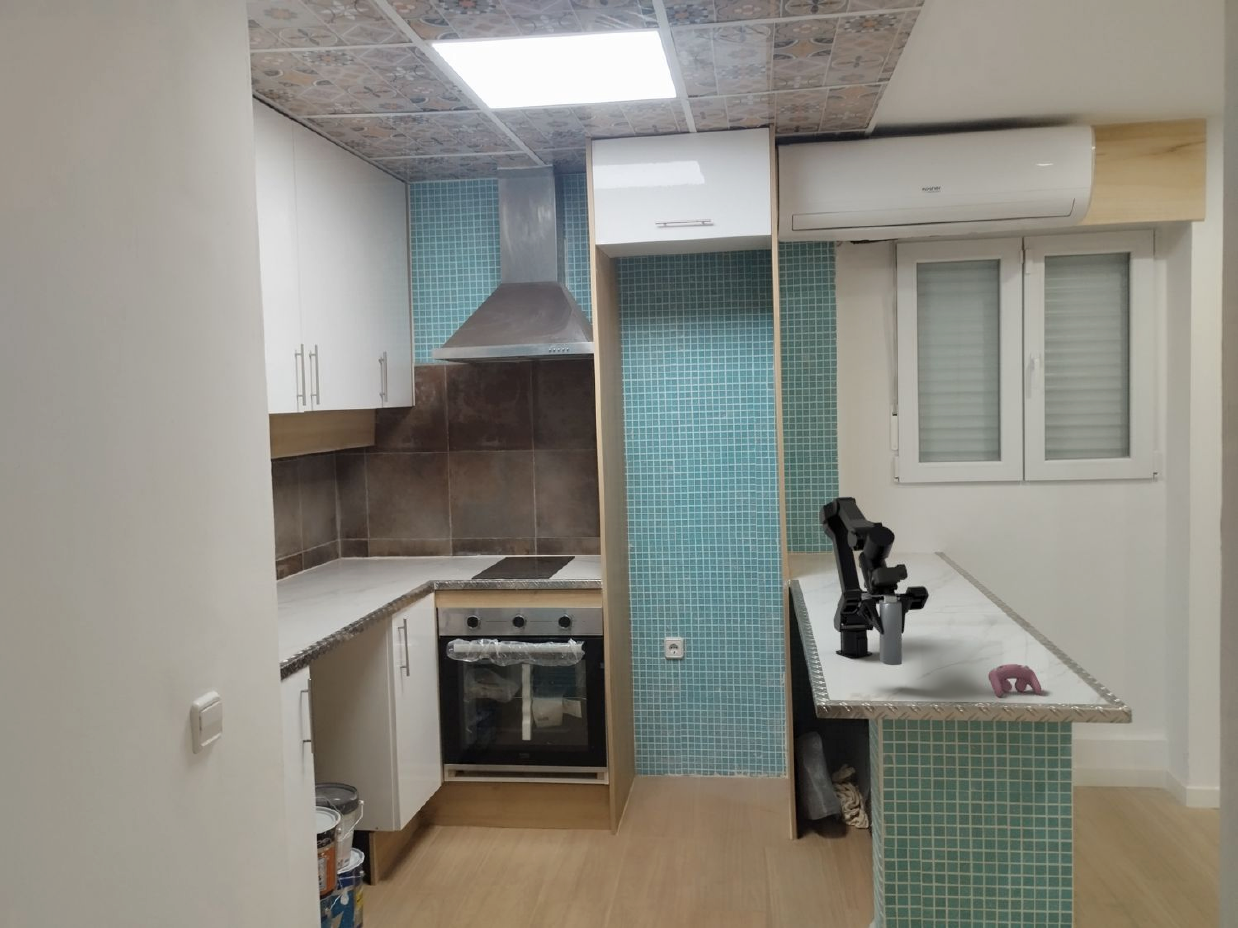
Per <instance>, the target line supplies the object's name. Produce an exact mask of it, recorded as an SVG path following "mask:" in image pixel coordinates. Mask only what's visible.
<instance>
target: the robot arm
mask: <svg viewBox="0 0 1238 928" xmlns="http://www.w3.org/2000/svg"><path fill="white" fill-rule="evenodd" d="M818 514H819V515H818V516H819V518H818V519H819V523H820V525H821V526H822V529H823V533H824V534H825V535H826V536H827V538H829V539H830V540H831V542H832V547H833V552H834V558H835V563H836V569H837V575H838V579H839V586H840V590H841V591H840V592H841V596H840V598H839V600H838V602H837V604H836V606H837V607H836V611H835V613H834V616H833V627H834V629H835V630H836V631H837V632H839V633H840V649H838V650H836V651H835V654H837V655H841V656H844V657H847V658H850V659H858V658H861V657H866V656H871V655H873V652H872V651H869V645H868V644H869V642H868V641H869V639H868V631H873V630H874V629H875V630H876V631H877V632H878V633H879V635H880V634H881V635H883V633H884V630H883V625H882V623H881V620H880V614H879V611H878V609H877V605H879V601H880V600H883V599H884V596H896V597H897V601H899V602H901V603H902V634H904V631H905V625H906V624H905V623H906V614H907V613H909V611H920V610H922V609H924V608H925V605H926V603H927V601H928V599H929V596H930V595H929V592H928V589H927V588H926V587H925V586H923V585H920V586H919V585H918V586H907V588H906V590H905V592H904V593H898V592H897V593H896V592H895V591H897V590H898V588H899V585H898V583H900V582H901V581H905V580H906V579H908V576H909V574H908V570H907V566H906V565H905V563H902V564H901V563H899V564H896V565H895V566H888V565H887V561H886V559H887V558H889V556H890V553H891V551H892V548H893V545H894V542H895V539H896V536H895V533H894V532H893V531H892V530H891V529H890V528H888V527H887V526H884V525H883V523H882V521H881V522H880V521H879V522H874V521H871V520H867V518H866V517H865V515H864V513H863V512H862V511H861V509H860V508H859V506H858V505H857V500H856V498H855V497H852V496H842V497H841V496H839V497H836V498H835V497H834V498H833V500H832V501H830V502H829V503H826V504H824V505H823V506H822V507H821V509H820V510H819V513H818ZM854 552H860V553H859V555H858V557H857V559H858V568H859V569H860V570H861V571H860V572H861V574H862V578H863V581H864V582H863V587H864V589H866V590H863V589H862V588H861V585H860V580H859V575H858V569H857V565H856V560H855V554H854Z"/></svg>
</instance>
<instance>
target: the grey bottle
mask: <svg viewBox="0 0 1238 928" xmlns="http://www.w3.org/2000/svg"><path fill="white" fill-rule="evenodd" d="M878 605H879V611H878V614H879V617H880V620H881V623H882V625H883V630H884V633H883V635H881V634H880V633H879V661H880V662H881V663H883V664H884V665H888V666H898V665H902V664H903V654H902V653H903V646H902V645H903V642H902V641H903V637H902V635H903V633H902V603H901V602H899V601H897V597H896V596H884V599H883V600H880V601H879V604H878Z"/></svg>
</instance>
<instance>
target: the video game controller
mask: <svg viewBox="0 0 1238 928" xmlns="http://www.w3.org/2000/svg"><path fill="white" fill-rule="evenodd" d="M987 678H988V681H989V682H990V685H991V688H992V690H993V692H994V694H995V695H996V696H997V697H998V698H1001V697H1003V693H1009V692H1010V691H1012V690H1013V685H1012V684H1011V682H1010V681H1009V680H1011V679H1013V680H1015V682H1014V689H1015V691H1017V692H1018V693H1022V692H1025V691H1026V690H1027V687H1028V686H1029V687H1030V688H1031V689H1032V690H1033V692H1034V693H1035V694H1036V695H1037V696H1040V695H1042V686H1041V684H1040V681H1039V679H1038V676H1037V675H1036V673H1035V671H1034V670H1033V669H1032V668H1030V666H1028V665H1021V664H1017V663H1007V664H1002V665H1000V666H995V667H994V668H993V669H991V670H990V671H989V673H988V677H987Z"/></svg>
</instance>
